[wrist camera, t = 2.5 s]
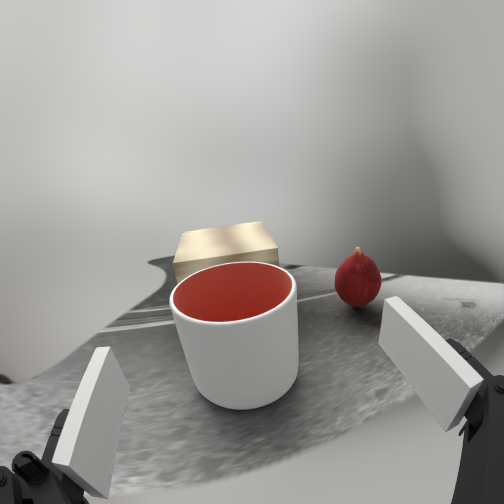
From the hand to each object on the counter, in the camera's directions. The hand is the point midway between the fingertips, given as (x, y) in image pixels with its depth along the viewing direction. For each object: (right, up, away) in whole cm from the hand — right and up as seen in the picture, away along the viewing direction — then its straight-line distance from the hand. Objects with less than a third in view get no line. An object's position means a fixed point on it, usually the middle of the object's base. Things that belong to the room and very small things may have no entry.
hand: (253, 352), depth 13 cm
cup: (-1, -8, +14) cm, 16 cm away
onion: (+13, -3, +22) cm, 26 cm away
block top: (-3, +1, +24) cm, 25 cm away
